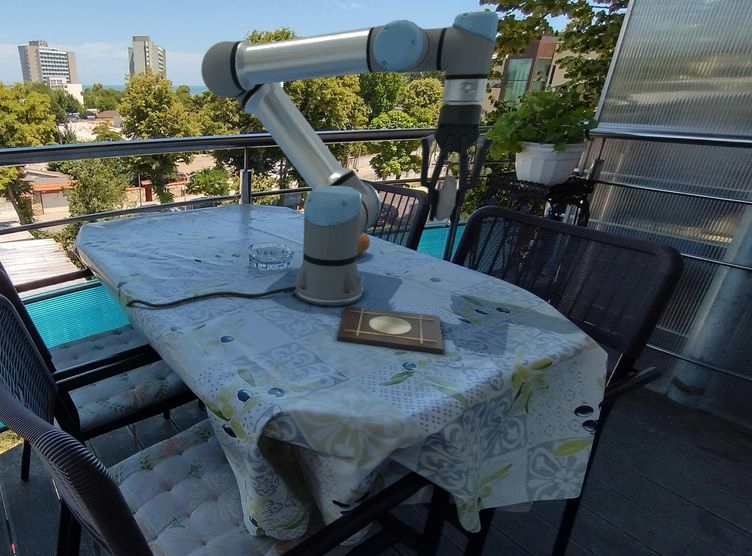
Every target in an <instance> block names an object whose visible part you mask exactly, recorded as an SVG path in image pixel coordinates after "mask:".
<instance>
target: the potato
mask: <svg viewBox="0 0 752 556" xmlns="http://www.w3.org/2000/svg"><path fill="white" fill-rule="evenodd" d="M370 245H371V239H370V237H369V236H368V235H367V234H366V232H363V233H362V234H361V235H359V236H358V247H357V256H360V255H362V254H363V253H365V252H366V251H367V250H368V249H369V248H370Z"/></svg>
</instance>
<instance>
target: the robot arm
mask: <svg viewBox="0 0 752 556" xmlns="http://www.w3.org/2000/svg"><path fill="white" fill-rule="evenodd" d="M499 19H500V18H499V15H498V14H497V13H496V12H494V11H490V10H479V11H468V12H463V13H459V14H457V15H456V16H455V17H454V21H453V23H452V25H451V26H448V27H438V28H422V27H421V26H418V24H417V23H415V22H414V21H411V20H408V19H396V20H392V21H390V22H388V23H386V24H383V25H378V26H369V27H364V28H362V27H361V28H357V29H356V28H355V29H350V30H349V29H348V30H344V31H337V32H330V33H323V34H315V35H310V36H301V37H295V38H289V39H281V40H275V41H268V42H262V43H255V44H253V43H252V42H251V41H249V40H247V39H245V40H237V41H230V40H229V41H228V40H224V41H219V42H217V43H215V44H213V45H212V46H211V47H210V48H208V49H207V51H206V53H205V54H204V56H203V59H202V61H201V69H200V70H201V72H200V73H201V77H202V81H203V83H204V85H205V86H206V88H207V90H208V91H210V92H211V93H212V94H214V95H215V96H217V97H220V98H226V99H235V101H236V102H237V103H238V104H239V106H240V107H241V109H242V110H243V111H244V113H246V114H247V115H255V116H256V118H257V119H258V120H259V122H260V124H262V126H263V127H264V128H265V130H266V131H267V132H268V133H269V135H270V136H271V138H272V139H273V140H274V141H275V143H276V145H278V147H279V148H280V150H282V152H283V153H284V155H285V156H286V157H287V158H288V160H289V161H290V162H291V164H292V165H293V167H294V168H295V169H296V170H297V172H298V173H299V174H300V176H301V177H302V178H303V180H304V181H305V182H306V184H307V185H308V187H309V188H310V189H311V191H310V192H309V193H308V194H307V196H306V198H305V204H304V208H303V219H304V220H303V252H302V253H303V255H302V262H301V265H300V268H299V270H298V272H297V276H296V279H295V281H294V286H288V287H283V288H278V289H273V290H269V291H265V292H261V293H244V292H236V291H217V292H209V293H205V294H199V295H193V296H190V297H186V298H182V299H178V300H175V301H171V302H165V303H152V302H148V301H145V300H142V299H132V300H130V301H128V302H127V303H126V304H125V307H130V306H132V305H133V304H140V305H143V306H146V307H150V308H153V309H154V308H155V309H158V308H159V309H160V308H161V309H162V308H168V307H173V306H176V305H180V304H183V303H186V302H187V303H188V302H190V301H191V302H193V301H197V300H200V299H205V298H210V297H217V296H234V297H235V296H237V297H243V298H263V297H267V296H271V295H275V294H279V293H285V292H290V291H291V292H292V291H293V293H294V296H295V298H297V299H299V300H300V301H302V302H305V303H307V304H310V305H315V306H321V307H322V306H323V307H343V306H350V305H352V304H354V303H357V302H358V301H360V300H361V299H362V298H363V283H364V281H365V275H363V276H362V279H361V275H360V272H359V269H358V264H357V259H358V258H357V247H358V236H359V235H361V234H362V233H363V232H364V233H366V231H368V230H369V229H371V228H372V226H373V225H374V224H375V223H376V221H377V219H378V217H379V215H380V213H381V206H382V204H381V198H380V195H379V193H378V190H376V188H374V186H372V185H371V184H369V183H367V182H364V181H362V180H361V179H360V177H359V176H358V175H357V173H356V172H355V171H354V170H353V169H352V168H346V167H345V168H344V167H342V164H341V163H340V162H339V161H338V159H336V157H335V156H334V154H332V152H331V151H330V149H329V148H328V147H327V146H326V144H325V143H324V141H323V140H322V139H321V137H320V136H319V135H318V133H316V131H315V129H314V128H313V127H312V126H311V124H310V123H309V121H307V119H306V118H305V116H304V115H303V114H302V112H301V111H300V110H299V109H298V107H297V106H296V105H295V103H294V102H293V100H292V99H291V98H290V97H289V95H288V94H287V93H286V92H285V90H284V83H286V82H292V81H293V82H294V81H303V80H304V81H305V80H312V79H313V80H314V79H325V78H332V77H342V76H352V75H361V74H371V73H372V74H373V73H374V74H375V73H386V72H387V73H393V74H394V73H396V74H405V73H424V72H442V71H443V72H444V71H445V77H444V84H443V88H442V96H441V101H442V102H443V104H442V105H441V106H440V109H439V115H438V121H437V126H436V128H435V130H434V132H433V133H432V134H431V135H428V136H426V137H424V136H422V137H420V139H419V141H420V145H421V148H422V151H421V152H422V153H421V164H420V178H419V183H420V186H421V187H422V188H426V189H427V193H426V199H425V202H426V205H428V206H430V208H429V209H430V210H429V213H428V214H429V215H428V220H429V222H434V221H435V217H434V216H435V210H436V204H437V198H438V192H439V189H438V188H436V187H437V185H438V182H439V179H440V176H441V173H442V171H443V168H444V166H445V163H446V159H447V158H448V155H449V154H452V153H456V154H457V156H458V188H457V192H456V199H455V207H454V209H453V210H452V214H451V216H450V217H449V218H448V220H449V223H455V222H456V218H457V217H456V216H457V211H458V207H463V206H464V203H465V199H466V192H467V191H469V190H472V189H476V188H477V187H478V183H479V180H480V177H481V174H482V173H481V172H482V169H483V166H484V163H485V158H486V155H487V151H489V148H490V147H491V146H492V144H493V140H492V138H489V137H485V136H483V135H481V131H480V123H481V117H482V111H483V106H482V105H483V104H481V102H484V101H485V97H486V90H487V86H488V80H489V75H490V69H491V66H492V60H493V56H494V52H495V47H496V46H495V45H496V41H497V32H498V26H499ZM434 141H435V143H436V144H437V146H438V147H439V152H438V157H437V159H436V162H435V165H434V167H433V171H432V174H431V175H430V176H431V177H430V179H429V180H428V178H429V166H430V165H429V164H430V155H431V153H430V151H431V149H430V148H431V147H433V142H434ZM476 142H477V144H476V146H477V147H478V148H477V151H476V154H475V158H474V162H473V165H472V170H471V173H470V177H469V181H468V150H469V149H470V148H471V146H473V145H474V143H476ZM131 429H132V435H133V443H134V450H135V451H138V450H139V445H138V437H137V429H136V425H133V424H131Z"/></svg>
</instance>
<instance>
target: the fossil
mask: <svg viewBox="0 0 752 556" xmlns="http://www.w3.org/2000/svg"><path fill="white" fill-rule="evenodd" d="M457 185H458V183H457V181H456V180H455V178H454V177H453V176H452V175H450V174H446V175H445V176H444V179H443V183H442V186H441V188H440V189H438V191H439V192H438V198H437V204H436V210H435V216H434V220H436V221H437V222H442V221H445V220H446V219H449V217H450V216H451V214H452V210H453V209H454V207H455V199H456V192H457V189H458V187H457Z"/></svg>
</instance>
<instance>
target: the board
mask: <svg viewBox="0 0 752 556" xmlns="http://www.w3.org/2000/svg"><path fill="white" fill-rule="evenodd" d="M336 340H337V341H341V342H347V343H355V344H363V345H371V346H379V347H386V348H394V349H401V350H409V351H415V352H416V351H417V352H422V353H424V352H425V353H431V354H440V355H443V354H444V343H443V342H444V341H443V335H442V328H441V321H440V316H439V315H434V314H433V315H432V314H425V313H416V312H407V311H397V310H387V309H377V308H369V307H361V306H360V307H359V306H350V305H345V307H344V311H343V315H342V317H341V322H340V325H339V328H338V332H337V335H336Z"/></svg>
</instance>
